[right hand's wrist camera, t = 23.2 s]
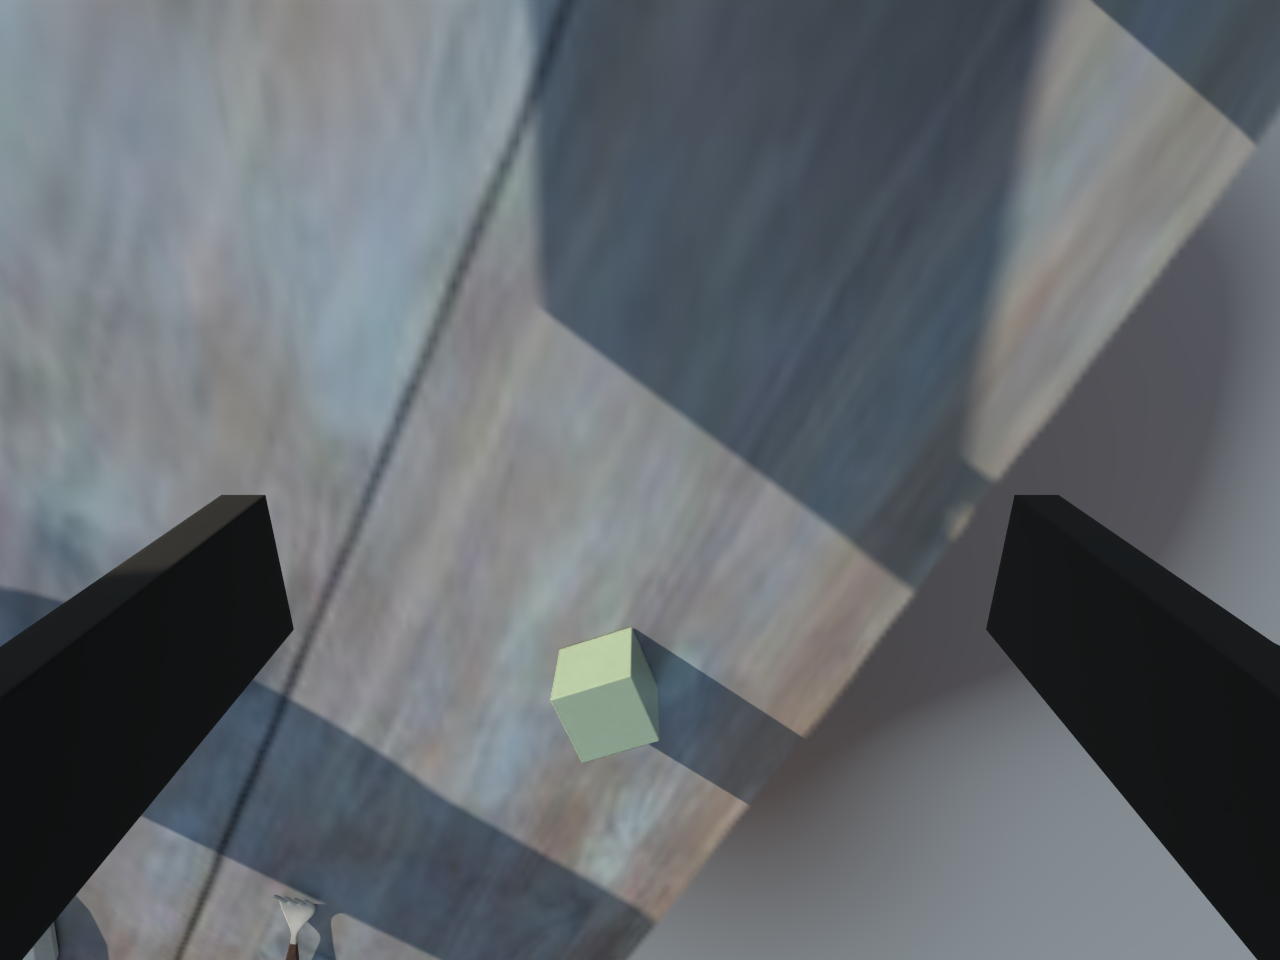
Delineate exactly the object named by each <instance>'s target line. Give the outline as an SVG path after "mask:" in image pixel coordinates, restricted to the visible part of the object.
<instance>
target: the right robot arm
mask: <svg viewBox="0 0 1280 960" xmlns="http://www.w3.org/2000/svg"><path fill="white" fill-rule="evenodd" d="M293 630H294V628H293V623H292V619H291V614H290V609H289V605H288V600H287V595H286V590H285V586H284V581H283V576H282V571H281V567H280V562H279V557H278V553H277V548H276V543H275V538H274V534H273V529H272V524H271V520H270V515H269V510H268V505H267V501H266V496H265V495H221V496H219V497H218V498H217V499H215V500H214V501H212V502H211V503H209V504H208V505H206V506H205V507H203V508H202V509H201V510H199V511H198V512H196V513H195V514H193V515H192V516H190V517H189V518H187V519H186V520H185V521H183V522H182V523H180V524H179V525H177V526H176V527H174V528H173V529H171V530H170V531H168V532H167V533H166V534H164V535H163V536H161V537H160V538H158V539H157V540H155V541H154V542H152V543H151V544H150V545H148V546H147V547H145V548H144V549H142V550H141V551H139V552H138V553H136V554H135V555H134V556H132V557H131V558H129V559H128V560H126V561H125V562H123V563H122V564H120V565H119V566H118V567H116V568H115V569H113V570H112V571H110V572H109V573H107V574H106V575H104V576H103V577H101V578H100V579H99V580H97V581H96V582H94V583H93V584H91V585H90V586H88V587H87V588H85V589H84V590H83V591H81V592H80V593H78V594H77V595H75V596H74V597H72V598H71V599H69V600H68V601H67V602H65V603H64V604H62V605H61V606H59V607H58V608H56V609H55V610H53V611H52V612H51V613H49V614H48V615H46V616H45V617H43V618H42V619H40V620H39V621H37V622H36V623H35V624H33V625H32V626H30V627H29V628H27V629H26V630H24V631H23V632H21V633H20V634H18V635H17V636H16V637H14V638H13V639H11V640H10V641H8V642H7V643H5V644H4V645H2V646H1V647H0V960H23V959H24V957H25V956H26V955H27V954H28V952H29V951H30V950H31V949H32V948H33V946H34V945H35V944H36V943H37V941H38V940H39V939H40V938H41V937H42V935H43V934H44V933H45V932H46V931H47V929H48V928H49V927H50V926H51V924H52V923H53V922H54V921H55V920H56V918H57V917H58V916H59V915H60V913H61V912H62V911H63V910H64V909H65V907H66V906H67V905H68V904H69V903H70V901H71V900H72V899H73V898H74V896H75V895H76V894H77V893H78V892H79V890H80V889H81V888H82V887H83V885H84V884H85V883H86V882H87V881H88V879H89V878H90V877H91V876H92V875H93V873H94V872H95V871H96V870H97V868H98V867H99V866H100V865H101V864H102V862H103V861H104V860H105V859H106V857H107V856H108V855H109V854H110V853H111V851H112V850H113V849H114V848H115V846H116V845H117V844H118V843H119V842H120V840H121V839H122V838H123V837H124V836H125V834H126V833H127V832H128V831H129V829H130V828H131V827H132V826H133V825H134V823H135V822H136V821H137V820H138V818H139V817H140V816H141V815H142V814H143V812H144V811H145V810H146V809H147V808H148V806H149V805H150V804H151V803H152V801H153V800H154V799H155V798H156V797H157V795H158V794H159V793H160V792H161V790H162V789H163V788H164V787H165V786H166V784H167V783H168V782H169V781H170V780H171V778H172V777H173V776H174V775H175V773H176V772H177V771H178V770H179V769H180V767H181V766H182V765H183V764H184V762H185V761H186V760H187V759H188V758H189V756H190V755H191V754H192V753H193V752H194V750H195V749H196V748H197V747H198V745H199V744H200V743H201V742H202V741H203V739H204V738H205V737H206V736H207V734H208V733H209V732H210V731H211V730H212V728H213V727H214V726H215V725H216V723H217V722H218V721H219V720H220V719H221V717H222V716H223V715H224V714H225V713H226V711H227V710H228V709H229V708H230V706H231V705H232V704H233V703H234V702H235V700H236V699H237V698H238V697H239V695H240V694H241V693H242V692H243V691H244V689H245V688H246V687H247V686H248V685H249V683H250V682H251V681H252V680H253V678H254V677H255V676H256V675H257V674H258V672H259V671H260V670H261V669H262V667H263V666H264V665H265V664H266V663H267V661H268V660H269V659H270V658H271V657H272V655H273V654H274V653H275V652H276V650H277V649H278V648H279V647H280V646H281V644H282V643H283V642H284V641H285V639H286V638H287V637H288V636H289V635H290V633H291V632H292V631H293ZM986 630H987V631H988V632H989V633H990V635H991V636H992V637H993V638H994V639H995V641H996V642H997V643H998V644H999V646H1000V647H1001V648H1002V649H1003V650H1004V652H1005V653H1006V654H1007V655H1008V657H1009V658H1010V659H1011V660H1012V661H1013V663H1014V664H1015V665H1016V666H1017V667H1018V669H1019V670H1020V671H1021V672H1022V673H1023V675H1024V676H1025V677H1026V678H1027V680H1028V681H1029V682H1030V683H1031V684H1032V686H1033V687H1034V688H1035V689H1036V691H1037V692H1038V693H1039V694H1040V695H1041V697H1042V698H1043V699H1044V700H1045V701H1046V703H1047V704H1048V705H1049V706H1050V708H1051V709H1052V710H1053V711H1054V713H1055V714H1056V715H1057V716H1058V717H1059V719H1060V720H1061V721H1062V722H1063V723H1064V725H1065V726H1066V727H1067V728H1068V730H1069V731H1070V732H1071V733H1072V734H1073V736H1074V737H1075V738H1076V739H1077V741H1078V742H1079V743H1080V744H1081V745H1082V747H1083V748H1084V749H1085V750H1086V752H1087V753H1088V754H1089V755H1090V756H1091V758H1092V759H1093V760H1094V761H1095V762H1096V764H1097V765H1098V766H1099V767H1100V769H1101V770H1102V771H1103V772H1104V773H1105V775H1106V776H1107V777H1108V778H1109V779H1110V781H1111V782H1112V783H1113V784H1114V786H1115V787H1116V788H1117V789H1118V790H1119V792H1120V793H1121V794H1122V795H1123V797H1124V798H1125V799H1126V800H1127V801H1128V803H1129V804H1130V805H1131V806H1132V808H1133V809H1134V810H1135V811H1136V812H1137V814H1138V815H1139V816H1140V817H1141V818H1142V820H1143V821H1144V822H1145V823H1146V825H1147V826H1148V827H1149V828H1150V829H1151V831H1152V832H1153V833H1154V834H1155V836H1156V837H1157V838H1158V839H1159V840H1160V842H1161V843H1162V844H1163V845H1164V846H1165V848H1166V849H1167V850H1168V851H1169V853H1170V854H1171V855H1172V856H1173V857H1174V859H1175V860H1176V861H1177V862H1178V864H1179V865H1180V866H1181V867H1182V868H1183V870H1184V871H1185V872H1186V873H1187V874H1188V876H1189V877H1190V878H1191V879H1192V881H1193V882H1194V883H1195V884H1196V885H1197V887H1198V888H1199V889H1200V890H1201V891H1202V893H1203V894H1204V895H1205V896H1206V898H1207V899H1208V900H1209V901H1210V902H1211V904H1212V905H1213V906H1214V907H1215V909H1216V910H1217V911H1218V912H1219V913H1220V915H1221V916H1222V917H1223V918H1224V920H1225V921H1226V922H1227V923H1228V924H1229V926H1230V927H1231V928H1232V929H1233V931H1234V932H1235V933H1236V934H1237V935H1238V937H1239V938H1240V939H1241V940H1242V941H1243V943H1244V944H1245V945H1246V946H1247V948H1248V949H1249V950H1250V951H1251V952H1252V954H1253V955H1254V956H1255V957H1256V959H1257V960H1280V646H1279V645H1277V644H1275V643H1273V642H1272V641H1270V640H1269V639H1267V638H1266V637H1264V636H1263V635H1262V634H1260V633H1259V632H1257V631H1256V630H1254V629H1253V628H1251V627H1250V626H1248V625H1247V624H1245V623H1244V622H1243V621H1241V620H1240V619H1238V618H1237V617H1235V616H1234V615H1232V614H1231V613H1229V612H1228V611H1227V610H1225V609H1224V608H1222V607H1221V606H1219V605H1218V604H1216V603H1215V602H1213V601H1212V600H1211V599H1209V598H1208V597H1206V596H1205V595H1203V594H1202V593H1200V592H1199V591H1197V590H1196V589H1194V588H1193V587H1192V586H1190V585H1189V584H1187V583H1186V582H1184V581H1183V580H1181V579H1180V578H1178V577H1177V576H1176V575H1174V574H1173V573H1171V572H1170V571H1168V570H1167V569H1165V568H1164V567H1162V566H1161V565H1160V564H1158V563H1157V562H1155V561H1154V560H1152V559H1151V558H1149V557H1148V556H1146V555H1145V554H1144V553H1142V552H1141V551H1139V550H1138V549H1136V548H1135V547H1133V546H1132V545H1130V544H1129V543H1128V542H1126V541H1125V540H1123V539H1122V538H1120V537H1119V536H1117V535H1116V534H1114V533H1113V532H1112V531H1110V530H1109V529H1107V528H1106V527H1104V526H1103V525H1101V524H1100V523H1098V522H1097V521H1095V520H1094V519H1093V518H1091V517H1090V516H1088V515H1087V514H1085V513H1084V512H1082V511H1081V510H1079V509H1078V508H1077V507H1075V506H1074V505H1072V504H1071V503H1069V502H1068V501H1066V500H1065V499H1063V498H1062V497H1061V496H1059V495H1015V496H1014V501H1013V505H1012V510H1011V515H1010V520H1009V524H1008V529H1007V534H1006V538H1005V543H1004V548H1003V553H1002V557H1001V562H1000V567H999V572H998V576H997V581H996V586H995V590H994V595H993V600H992V605H991V609H990V614H989V619H988V623H987V628H986Z"/></svg>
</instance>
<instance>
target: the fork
mask: <svg viewBox="0 0 1280 960" xmlns="http://www.w3.org/2000/svg"><path fill="white" fill-rule="evenodd" d="M273 898H276V899H278V900H279V901H280V904H281V908H282V910H283V913H284V915H285V917H286V920H287V922H288V924H289V927H290V930H291V941H290V945H289V949H288V953H287V957H286V960H299V954H298V944H297V934H298V932H299V930H300V929H301V928H302V927H303V926H304V925H305V924H306V923H307V921H308V920H309V919H310V918H311V917H312V916H313V914H314V913H315V906H314V905H313V903H312V902H310V901H308V900H304V901H301V900H300V899H297V898H295V899H294V900H292V899H291V898H289V897H284V898H282V897H280V896H278V895H274V897H273ZM295 901H296V902H295ZM306 903H307V904H306Z"/></svg>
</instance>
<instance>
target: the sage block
mask: <svg viewBox="0 0 1280 960" xmlns="http://www.w3.org/2000/svg"><path fill="white" fill-rule="evenodd" d="M551 702H552V704H553V706H554V708H555V710H556V712H557V714H558V716H559V718H560V720H561V722H562V724H563V726H564V728H565V730H566V732H567V734H568V736H569V738H570V740H571V742H572V744H573V746H574V748H575V750H576V752H577V754H578V756H579V758H580V760H581V762H582V763H585V762H588V761H592V760H595V759H599V758H602V757H605V756H609V755H612V754H616V753H619V752H623V751H626V750H630V749H633V748H637V747H640V746H644V745H647V744H651V743H654V742H657V741H660V732H659V705H658V686H657V684H656V682H655V679H654V677H653V675H652V672H651V670H650V668H649V665H648V663H647V661H646V658H645V656H644V654H643V651H642V649H641V647H640V645H639V642H638V640H637V638H636V635H635V633H634V631H633V628H632V627H630V628H627V629H624V630H621V631H617V632H614V633H611V634H608V635H605V636H601V637H598V638H595V639H592V640H589V641H585V642H582V643H579V644H576V645H573V646H569V647H566V648H563V649H560V650H559V656H558V661H557V667H556V672H555V678H554V683H553V689H552V694H551Z"/></svg>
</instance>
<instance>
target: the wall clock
mask: <svg viewBox="0 0 1280 960" xmlns="http://www.w3.org/2000/svg"><path fill="white" fill-rule="evenodd" d="M58 954H59V951H58V944H57V938H56V932H55V926H54V922H53V923H52V924H51V926H50V927H49V928H48V929H47V931H46V932H45V933H44V934H43V935H42V937H41V938H40V939H39V940H38V941H37V943H36V944H35V945H34V946H33V948H32V949H31V950H30V951H29V952H28V954H27V955H26V956H25V957H24V959H23V960H57V958H58Z"/></svg>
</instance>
